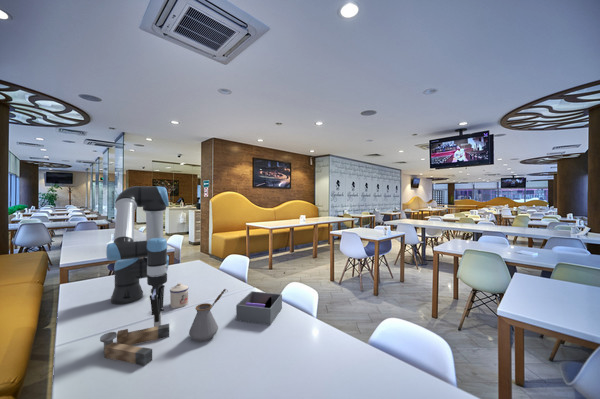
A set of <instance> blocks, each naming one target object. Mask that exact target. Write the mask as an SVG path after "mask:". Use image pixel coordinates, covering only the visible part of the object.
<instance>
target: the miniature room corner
mask: <svg viewBox="0 0 600 399" xmlns="http://www.w3.org/2000/svg"><path fill="white" fill-rule="evenodd" d="M246 306H254V307H262V308H270V307H271V297H270V298H269V299H268V300H267V302H266V303H265V304H257V303H246Z"/></svg>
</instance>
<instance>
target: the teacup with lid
mask: <svg viewBox="0 0 600 399" xmlns="http://www.w3.org/2000/svg"><path fill="white" fill-rule="evenodd" d="M169 292H170V296H169V297H170V298H169V299H170V302H169V303H170V305H169V306H170V307H171V308H173V309H178V308H182V307H186V306H187V305H188V304H189V286H188V285H186V284H182V283H181V282H177V284H176V285H175V286H172V287H171V288H169Z"/></svg>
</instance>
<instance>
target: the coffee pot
mask: <svg viewBox="0 0 600 399" xmlns="http://www.w3.org/2000/svg"><path fill="white" fill-rule="evenodd" d="M220 292H221V293H219V295H218V296H217V297H216V299H215V300H214V301H213V303H212V304H211V303H209V302H206V303H200V304H197V305H195V308H194V309H195V311H196V314H195V317H194V319H193V322H192V324H191V326H190V329H189V331H188V335H189V337H190V338H191V339H192V340H193V341H195V342H196V343H197V342H198V343H203V342H207V341H209V340H211V339H213V337H214V336H216V334H217V332H218V330H219V326H218V324H217V322H216V319H215V317H214V315H213V313H212V311H211V310H212V308H213V307H214V306H215V304H217V302H218V301H219V300H220V299H221V297H222V296H223V294H225V293H228V289H226V288H224V289H223V291H220Z"/></svg>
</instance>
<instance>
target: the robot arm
mask: <svg viewBox="0 0 600 399" xmlns="http://www.w3.org/2000/svg"><path fill="white" fill-rule="evenodd" d="M169 205H170V204H169V195H168V191H167V188H166V187H165V186H156V185H155V186H153V185H151V186H150V185H148V186H147V185H141V186H140V185H139V186H138V185H136V186H135V185H134V186H130V187H128V188H125V189H124V190H122V191H121V192H120V193H119V194H118V195H117V197H116V198H115V201H114V207H115V210H116V214H115V215H116V216H115V223H114V224H115V227H114V235H113V242H111V243H108V244H107V245H106V252H105V253H106V260H108V261H110V262H111V261H112V262H114V261H115V263H114V268H113V271H114V288H113V292H112V295H111V296H110V303H111V304H114V305H124V304H129V303H132V302H135V301H138V300H141V299H142V298H143V296H144V291H143V289H142V285H141V284H140V280H141V279H146V280H147V282H146V283H147V285H148V286H151V289H150V293H151V294H150V295H149V300H150V308H151V316H153V327H156V326H160V325H163V324H162V322H163V321H162V320H163V319H162V318H163V316H162V315H163V313H162V312H164V311H165V309H164V296H165V287H166V286H165V285H164V284H165V283H167V282H168V273H167V272H168V268H169V259H170V256H169V255H168V252H167V251H168V243H167V239H166V238H164V212H165V211H166V210H167V207H170V206H169ZM137 208H142V211H144V213H145V226H146V227H145V233H146V234H145V235H146V236H145V238H146V240H138V241H137V240H136V241H134V239H135V212H136V210H137Z"/></svg>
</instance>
